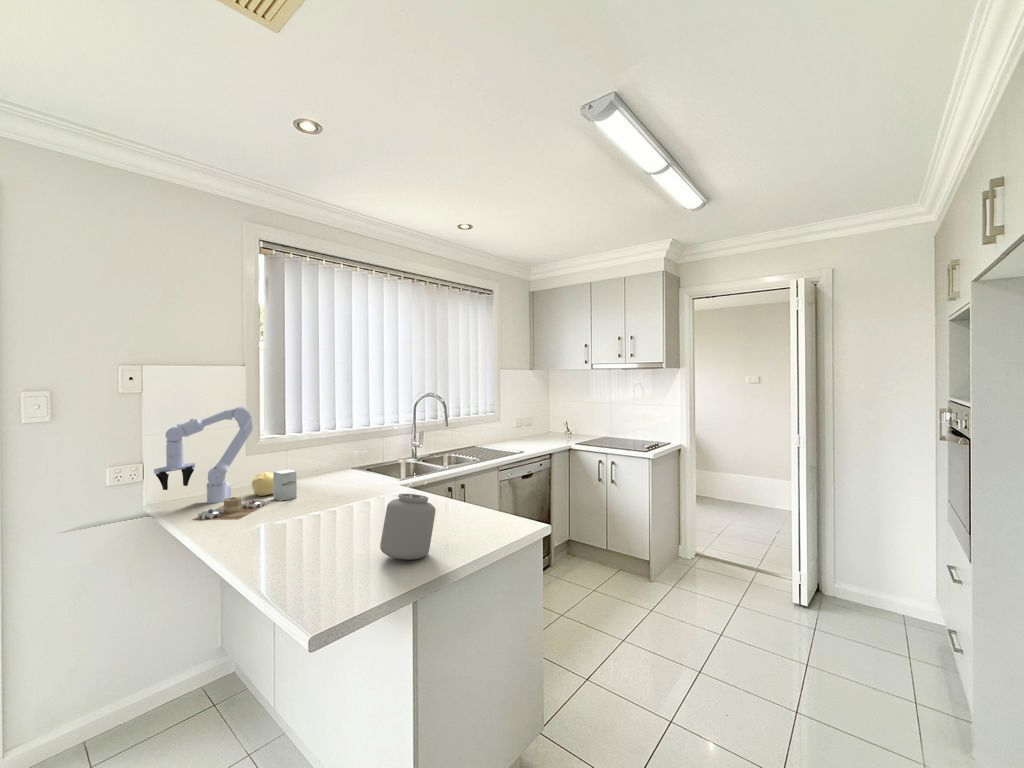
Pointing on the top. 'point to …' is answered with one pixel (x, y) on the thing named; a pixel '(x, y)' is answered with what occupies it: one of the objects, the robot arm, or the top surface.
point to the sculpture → (263, 484)
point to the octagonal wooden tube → (232, 505)
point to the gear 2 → (253, 504)
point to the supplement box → (284, 485)
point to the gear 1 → (210, 514)
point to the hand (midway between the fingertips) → (175, 487)
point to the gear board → (234, 514)
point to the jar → (408, 527)
